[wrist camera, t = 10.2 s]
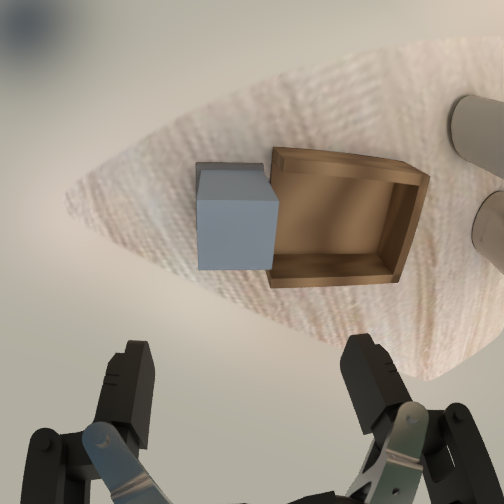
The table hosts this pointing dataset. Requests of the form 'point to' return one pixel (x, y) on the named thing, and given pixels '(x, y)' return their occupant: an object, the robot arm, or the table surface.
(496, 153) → the can
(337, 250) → the crate
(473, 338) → the table surface
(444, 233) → the table surface
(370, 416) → the robot arm
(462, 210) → the table surface
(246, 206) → the block
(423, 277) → the table surface
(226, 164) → the coaster
